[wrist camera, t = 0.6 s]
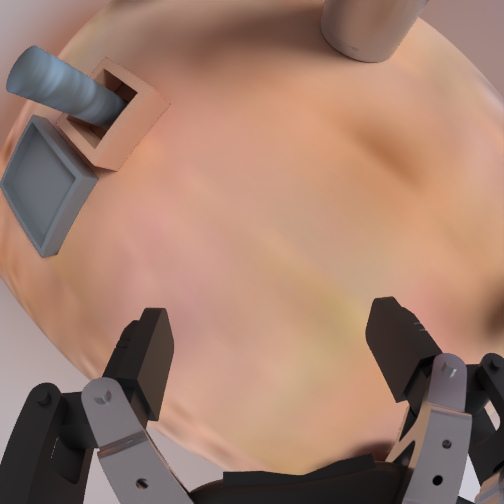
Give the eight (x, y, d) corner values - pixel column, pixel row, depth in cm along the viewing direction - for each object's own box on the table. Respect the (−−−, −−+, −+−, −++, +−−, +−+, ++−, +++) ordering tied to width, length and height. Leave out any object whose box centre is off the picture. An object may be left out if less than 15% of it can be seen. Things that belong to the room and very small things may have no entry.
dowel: (121, 96, 26) (30, 41, 10) (140, 111, 26) (43, 52, 10) (101, 123, 27) (2, 83, 11) (118, 139, 27) (12, 99, 11)
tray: (46, 118, 28) (33, 114, 25) (99, 178, 28) (83, 176, 25) (12, 185, 30) (-1, 184, 27) (57, 254, 30) (41, 257, 27)
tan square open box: (124, 71, 26) (105, 56, 21) (171, 104, 26) (153, 88, 21) (78, 130, 27) (56, 123, 23) (117, 171, 27) (94, 165, 23)
